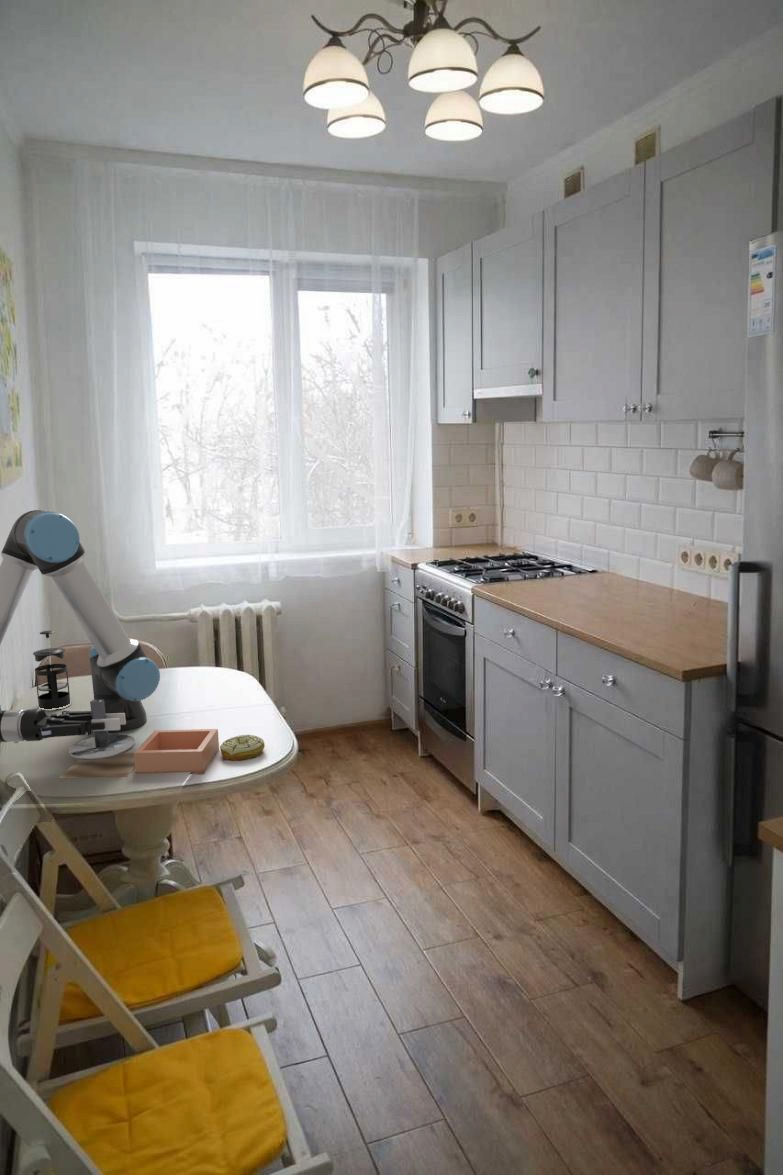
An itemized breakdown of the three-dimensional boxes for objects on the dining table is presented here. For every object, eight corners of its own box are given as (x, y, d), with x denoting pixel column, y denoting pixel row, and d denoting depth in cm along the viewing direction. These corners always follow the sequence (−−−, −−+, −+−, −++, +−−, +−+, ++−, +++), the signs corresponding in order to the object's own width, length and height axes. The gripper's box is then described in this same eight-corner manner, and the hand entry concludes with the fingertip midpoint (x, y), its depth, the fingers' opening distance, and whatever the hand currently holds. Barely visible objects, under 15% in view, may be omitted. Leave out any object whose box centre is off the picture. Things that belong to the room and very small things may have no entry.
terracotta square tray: (156, 751, 224) (154, 730, 223) (219, 749, 223) (217, 728, 222) (135, 775, 208) (133, 752, 207) (203, 773, 207) (201, 751, 206)
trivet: (84, 755, 222) (84, 753, 222) (147, 754, 222) (147, 752, 222) (58, 780, 207) (58, 777, 207) (126, 778, 206) (126, 776, 206)
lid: (83, 738, 221) (78, 692, 219) (143, 736, 220) (138, 690, 218) (59, 761, 206) (53, 712, 204) (123, 758, 206) (117, 709, 203)
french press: (73, 708, 264) (66, 632, 260) (40, 713, 260) (31, 636, 256) (68, 698, 274) (61, 625, 270) (36, 703, 270) (28, 629, 266)
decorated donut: (214, 753, 221) (213, 738, 221) (253, 744, 227) (252, 729, 226) (230, 765, 213) (229, 750, 212) (271, 755, 218) (270, 740, 218)
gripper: (42, 728, 222) (134, 725, 221) (12, 752, 206) (112, 748, 205) (38, 699, 220) (131, 695, 219) (8, 721, 204) (108, 717, 203)
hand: (122, 721), depth 212 cm, fingers closed on lid, 3 cm apart
